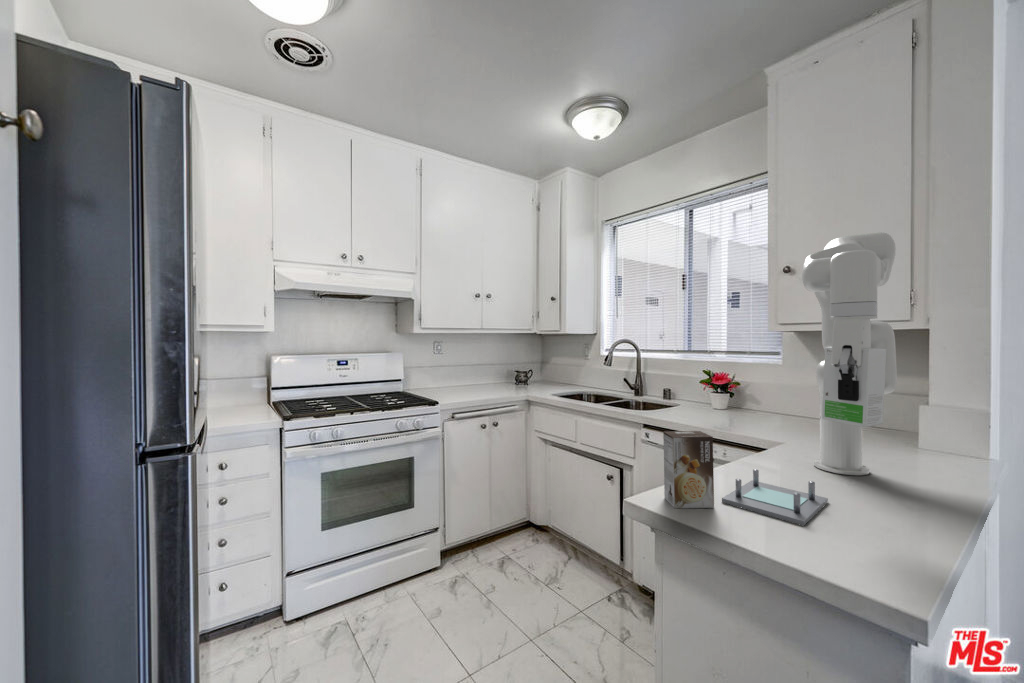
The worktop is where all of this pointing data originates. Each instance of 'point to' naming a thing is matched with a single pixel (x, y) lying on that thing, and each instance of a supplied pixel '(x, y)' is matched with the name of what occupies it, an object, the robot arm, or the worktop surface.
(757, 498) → the grey base plate
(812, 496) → the guide pins
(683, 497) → the coffee box
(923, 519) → the worktop surface
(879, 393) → the skincare box
